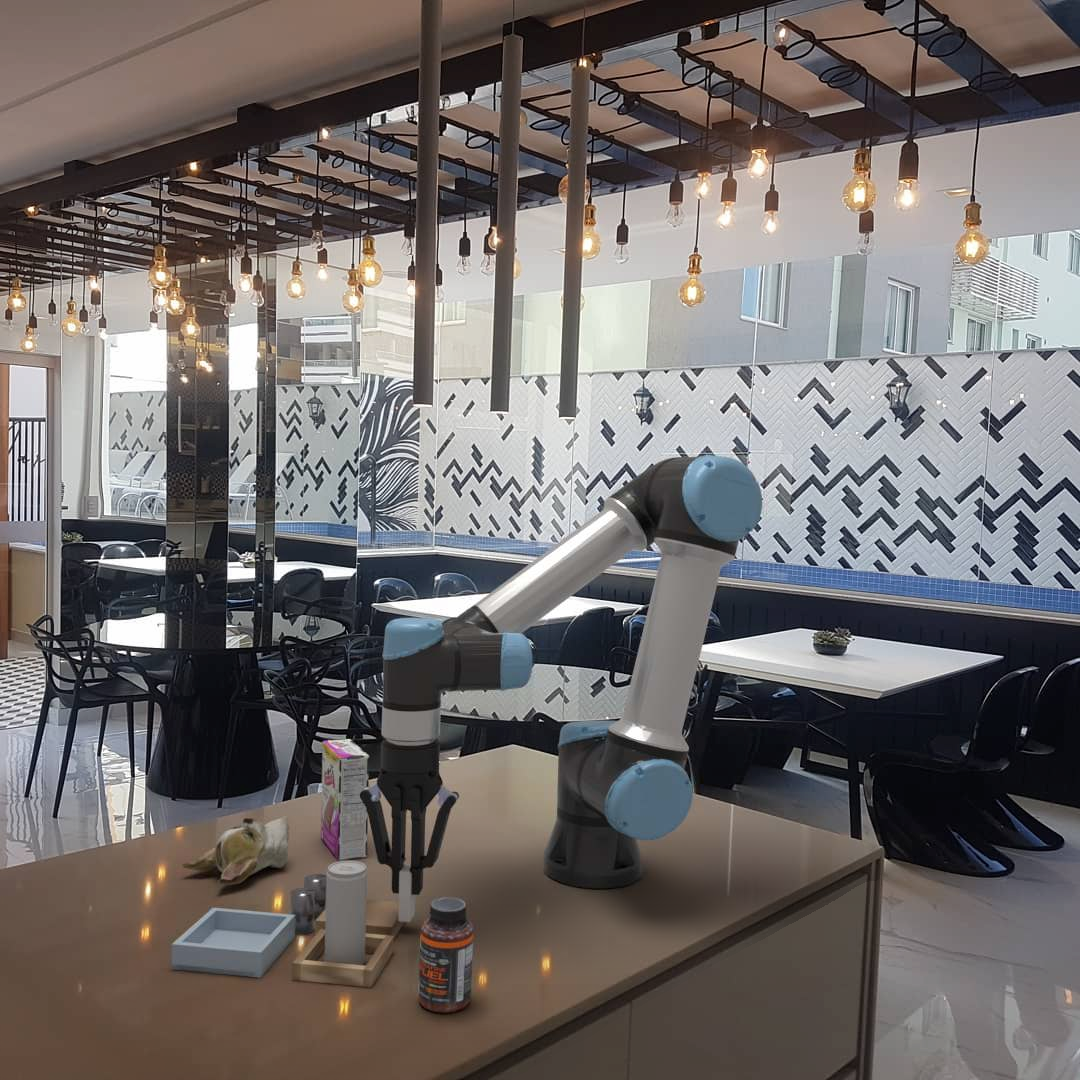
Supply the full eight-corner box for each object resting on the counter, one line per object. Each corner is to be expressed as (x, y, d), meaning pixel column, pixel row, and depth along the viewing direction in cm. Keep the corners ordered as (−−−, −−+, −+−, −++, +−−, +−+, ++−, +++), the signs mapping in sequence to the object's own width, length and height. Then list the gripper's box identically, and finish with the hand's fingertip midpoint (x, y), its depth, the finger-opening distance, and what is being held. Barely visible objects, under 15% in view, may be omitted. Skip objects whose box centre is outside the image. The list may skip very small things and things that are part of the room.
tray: (294, 938, 131) (295, 914, 131) (260, 977, 120) (261, 952, 120) (212, 930, 133) (213, 907, 132) (171, 969, 122) (171, 944, 122)
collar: (393, 951, 128) (393, 935, 128) (371, 987, 119) (371, 970, 119) (319, 944, 129) (320, 929, 129) (292, 979, 120) (292, 962, 120)
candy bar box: (318, 839, 168) (321, 740, 168) (348, 836, 171) (351, 737, 170) (336, 862, 158) (339, 756, 158) (368, 858, 161) (371, 754, 160)
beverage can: (355, 976, 121) (358, 876, 121) (317, 971, 122) (320, 872, 122) (370, 959, 126) (373, 862, 126) (333, 954, 127) (336, 858, 126)
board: (406, 921, 139) (407, 902, 139) (391, 946, 131) (391, 927, 131) (335, 915, 140) (335, 896, 140) (315, 939, 132) (315, 920, 132)
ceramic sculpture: (308, 813, 154) (219, 842, 143) (309, 869, 155) (221, 903, 143) (266, 798, 161) (178, 825, 149) (268, 852, 162) (180, 883, 150)
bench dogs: (329, 911, 140) (330, 874, 140) (308, 935, 132) (309, 897, 132) (308, 909, 140) (309, 873, 140) (286, 933, 132) (287, 895, 132)
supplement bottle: (407, 1007, 115) (410, 907, 114) (434, 985, 120) (437, 889, 120) (455, 1020, 112) (458, 917, 112) (480, 996, 118) (483, 899, 117)
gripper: (466, 734, 136) (461, 910, 137) (370, 729, 138) (366, 902, 139) (454, 748, 129) (449, 933, 130) (353, 742, 131) (349, 925, 132)
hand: (406, 917), depth 134 cm, fingers closed
